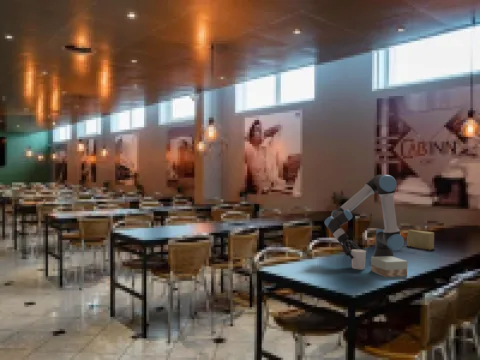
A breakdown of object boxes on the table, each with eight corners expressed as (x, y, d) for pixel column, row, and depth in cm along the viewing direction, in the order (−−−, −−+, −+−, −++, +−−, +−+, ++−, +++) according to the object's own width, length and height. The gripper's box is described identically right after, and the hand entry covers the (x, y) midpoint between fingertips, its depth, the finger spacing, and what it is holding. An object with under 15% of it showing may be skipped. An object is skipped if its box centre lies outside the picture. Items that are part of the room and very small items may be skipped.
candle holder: (347, 267, 285) (348, 249, 285) (359, 266, 289) (359, 248, 289) (357, 270, 276) (357, 252, 276) (368, 269, 280) (369, 251, 280)
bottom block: (391, 270, 280) (391, 263, 279) (407, 276, 264) (407, 268, 264) (370, 271, 275) (371, 264, 275) (385, 277, 260) (385, 269, 260)
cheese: (404, 246, 373) (405, 229, 372) (409, 245, 379) (410, 229, 379) (429, 250, 357) (430, 232, 356) (434, 248, 363) (434, 232, 363)
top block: (391, 263, 279) (391, 256, 279) (407, 268, 264) (407, 261, 264) (370, 264, 275) (371, 256, 275) (385, 270, 259) (385, 262, 259)
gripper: (345, 237, 302) (364, 261, 293) (329, 241, 283) (349, 266, 273) (352, 231, 298) (371, 254, 289) (336, 234, 279) (356, 260, 270)
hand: (360, 260), depth 281 cm, fingers open, 13 cm apart
